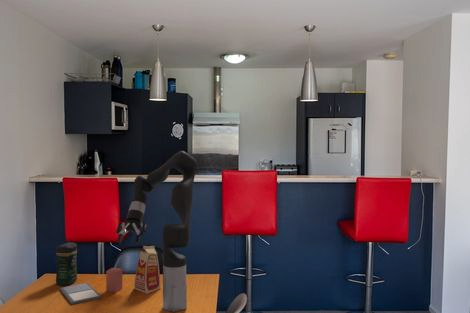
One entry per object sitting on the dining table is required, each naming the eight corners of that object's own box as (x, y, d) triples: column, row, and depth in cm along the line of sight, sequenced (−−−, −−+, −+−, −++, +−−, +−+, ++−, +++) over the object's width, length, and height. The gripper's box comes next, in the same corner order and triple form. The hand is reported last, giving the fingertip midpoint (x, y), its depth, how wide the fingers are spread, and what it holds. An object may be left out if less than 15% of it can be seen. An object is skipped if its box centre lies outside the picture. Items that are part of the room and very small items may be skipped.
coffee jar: (69, 286, 184) (69, 246, 184) (53, 285, 185) (53, 245, 185) (80, 279, 194) (79, 241, 194) (64, 278, 195) (64, 240, 195)
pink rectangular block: (122, 288, 182) (122, 268, 182) (116, 292, 178) (116, 272, 177) (112, 287, 184) (112, 267, 183) (106, 291, 179) (106, 271, 179)
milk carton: (146, 293, 176) (146, 248, 176) (133, 289, 182) (133, 245, 181) (162, 287, 183) (162, 244, 183) (148, 283, 189) (148, 241, 189)
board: (101, 298, 170) (101, 295, 170) (71, 304, 163) (71, 301, 163) (87, 285, 186) (87, 282, 186) (60, 290, 179) (60, 287, 179)
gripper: (152, 216, 202) (144, 246, 193) (125, 215, 205) (117, 245, 195) (147, 209, 196) (138, 240, 187) (120, 208, 199) (110, 239, 190)
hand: (127, 242), depth 191 cm, fingers open, 8 cm apart
